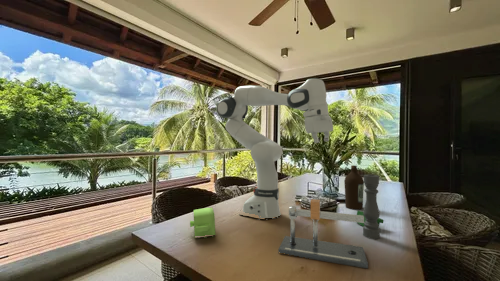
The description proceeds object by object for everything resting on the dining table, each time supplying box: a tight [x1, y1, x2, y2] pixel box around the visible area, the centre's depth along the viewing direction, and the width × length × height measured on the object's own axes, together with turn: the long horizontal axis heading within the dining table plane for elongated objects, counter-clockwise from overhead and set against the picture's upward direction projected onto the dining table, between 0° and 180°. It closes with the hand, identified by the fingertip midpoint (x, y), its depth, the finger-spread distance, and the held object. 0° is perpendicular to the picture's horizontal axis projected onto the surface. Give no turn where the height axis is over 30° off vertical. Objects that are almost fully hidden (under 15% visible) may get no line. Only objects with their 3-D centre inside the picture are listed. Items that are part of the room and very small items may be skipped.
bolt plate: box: [278, 235, 369, 270], centre depth 81 cm, size 28×12×2 cm, turn 70°
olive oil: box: [343, 165, 365, 211], centre depth 137 cm, size 11×11×25 cm
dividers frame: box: [288, 205, 364, 244], centre depth 82 cm, size 26×6×14 cm, turn 70°
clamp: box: [356, 210, 385, 229], centre depth 106 cm, size 12×6×9 cm, turn 3°
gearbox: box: [189, 207, 216, 237], centre depth 98 cm, size 18×10×10 cm, turn 14°
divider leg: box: [310, 198, 321, 247], centre depth 82 cm, size 3×5×16 cm, turn 160°
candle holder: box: [362, 174, 381, 240], centre depth 95 cm, size 6×6×25 cm
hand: (321, 142), depth 107 cm, fingers open, 8 cm apart
